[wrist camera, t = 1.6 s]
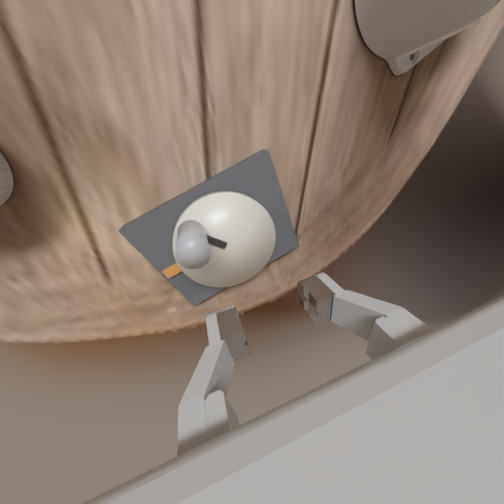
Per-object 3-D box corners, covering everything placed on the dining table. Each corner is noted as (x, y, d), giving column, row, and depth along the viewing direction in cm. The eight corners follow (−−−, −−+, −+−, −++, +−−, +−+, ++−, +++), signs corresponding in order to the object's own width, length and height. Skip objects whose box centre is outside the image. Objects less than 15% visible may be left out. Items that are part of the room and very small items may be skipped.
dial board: (262, 149, 26) (269, 149, 24) (293, 241, 35) (300, 247, 33) (122, 225, 25) (117, 232, 23) (193, 298, 34) (194, 308, 32)
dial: (287, 217, 30) (316, 237, 23) (243, 288, 34) (257, 322, 27) (199, 168, 22) (205, 177, 16) (157, 266, 27) (149, 304, 20)
